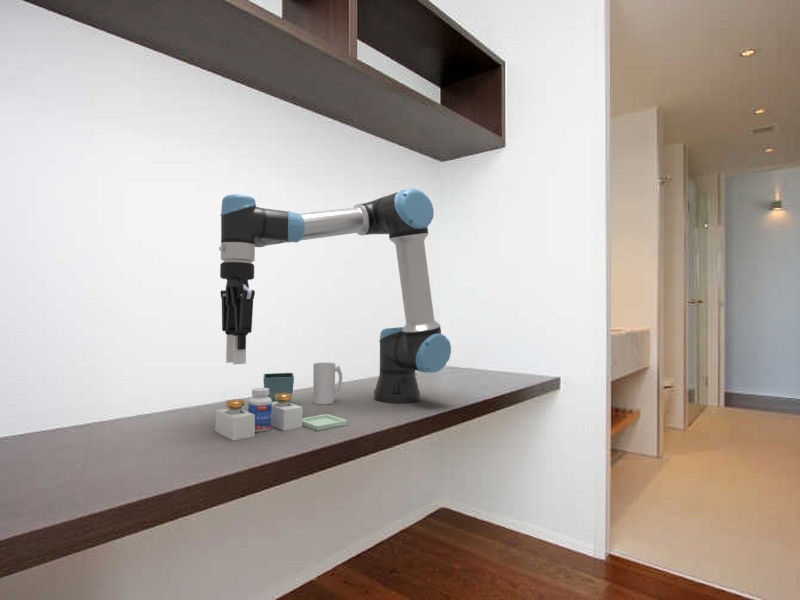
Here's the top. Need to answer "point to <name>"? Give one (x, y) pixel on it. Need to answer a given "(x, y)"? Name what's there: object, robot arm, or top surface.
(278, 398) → the plunger
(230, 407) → the plunger
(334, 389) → the mug
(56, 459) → the top surface
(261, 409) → the pill bottle
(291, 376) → the flower pot
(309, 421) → the tray
